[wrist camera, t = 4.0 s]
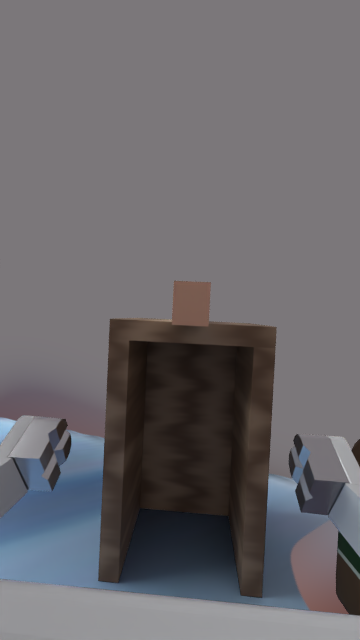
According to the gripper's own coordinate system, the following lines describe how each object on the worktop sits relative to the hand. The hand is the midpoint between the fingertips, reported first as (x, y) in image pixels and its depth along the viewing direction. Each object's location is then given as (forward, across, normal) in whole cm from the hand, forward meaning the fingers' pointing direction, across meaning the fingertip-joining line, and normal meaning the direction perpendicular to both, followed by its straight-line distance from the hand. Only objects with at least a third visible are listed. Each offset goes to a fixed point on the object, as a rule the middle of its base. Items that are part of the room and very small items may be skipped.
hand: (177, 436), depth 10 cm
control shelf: (+10, 0, +31) cm, 33 cm away
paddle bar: (+19, 0, +6) cm, 20 cm away
